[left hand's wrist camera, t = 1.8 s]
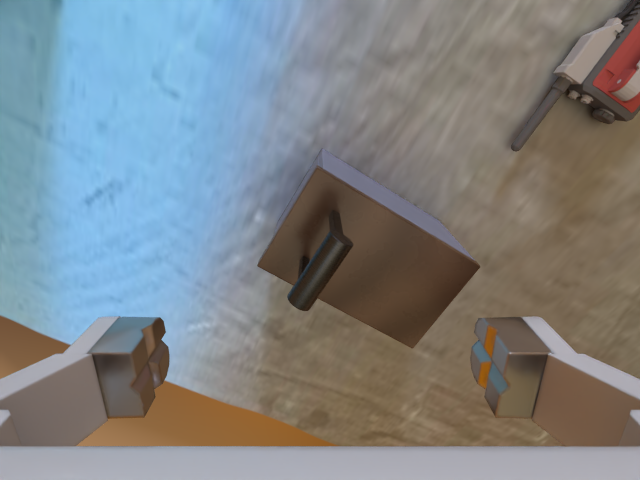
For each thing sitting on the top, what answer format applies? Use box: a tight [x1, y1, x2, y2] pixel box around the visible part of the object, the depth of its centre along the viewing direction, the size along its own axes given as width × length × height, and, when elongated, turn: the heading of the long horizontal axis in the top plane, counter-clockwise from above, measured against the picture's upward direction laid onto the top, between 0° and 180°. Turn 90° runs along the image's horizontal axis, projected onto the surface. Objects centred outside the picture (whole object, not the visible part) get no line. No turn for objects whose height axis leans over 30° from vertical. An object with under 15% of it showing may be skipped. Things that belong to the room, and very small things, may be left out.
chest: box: [274, 149, 474, 260], centre depth 40 cm, size 16×10×11 cm, turn 59°
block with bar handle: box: [257, 165, 480, 348], centre depth 31 cm, size 16×10×8 cm, turn 59°
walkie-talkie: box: [511, 0, 640, 151], centre depth 38 cm, size 9×4×20 cm
